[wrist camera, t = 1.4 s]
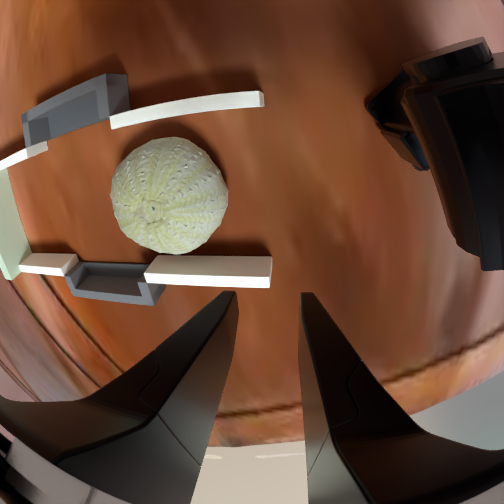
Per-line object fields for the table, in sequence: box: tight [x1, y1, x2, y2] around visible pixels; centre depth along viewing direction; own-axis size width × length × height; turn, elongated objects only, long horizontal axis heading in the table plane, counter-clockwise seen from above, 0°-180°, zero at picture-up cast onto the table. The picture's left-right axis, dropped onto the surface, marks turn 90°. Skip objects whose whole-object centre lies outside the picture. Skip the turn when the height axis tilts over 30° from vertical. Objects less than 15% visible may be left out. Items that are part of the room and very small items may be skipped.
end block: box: [0, 168, 32, 280], centre depth 23 cm, size 2×14×5 cm, turn 5°
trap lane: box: [0, 73, 272, 306], centre depth 21 cm, size 31×20×3 cm, turn 95°
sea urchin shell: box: [110, 137, 228, 255], centre depth 20 cm, size 9×8×8 cm
